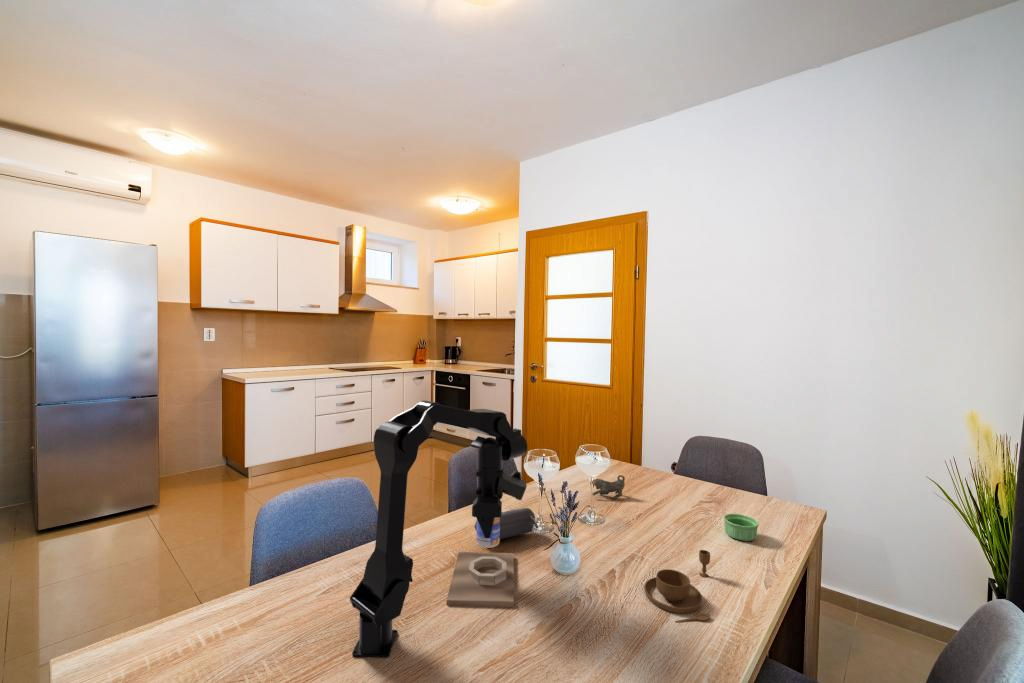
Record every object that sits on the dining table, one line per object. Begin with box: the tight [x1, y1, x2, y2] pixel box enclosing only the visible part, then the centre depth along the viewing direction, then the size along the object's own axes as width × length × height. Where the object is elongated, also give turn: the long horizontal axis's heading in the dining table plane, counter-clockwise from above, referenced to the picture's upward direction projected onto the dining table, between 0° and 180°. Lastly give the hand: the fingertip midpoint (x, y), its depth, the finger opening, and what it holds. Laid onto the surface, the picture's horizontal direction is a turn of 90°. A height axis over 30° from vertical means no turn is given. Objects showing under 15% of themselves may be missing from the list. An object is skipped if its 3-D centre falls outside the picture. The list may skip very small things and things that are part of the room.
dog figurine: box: [591, 474, 626, 500], centre depth 155 cm, size 12×6×7 cm, turn 93°
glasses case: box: [474, 507, 539, 540], centre depth 121 cm, size 18×10×8 cm, turn 118°
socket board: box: [446, 551, 515, 608], centre depth 102 cm, size 20×14×3 cm
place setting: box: [643, 549, 711, 624], centre depth 97 cm, size 18×20×6 cm
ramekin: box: [723, 513, 760, 542], centre depth 127 cm, size 9×9×4 cm
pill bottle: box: [475, 517, 501, 549], centre depth 101 cm, size 5×5×10 cm
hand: (488, 532), depth 101 cm, fingers closed on pill bottle, 5 cm apart
